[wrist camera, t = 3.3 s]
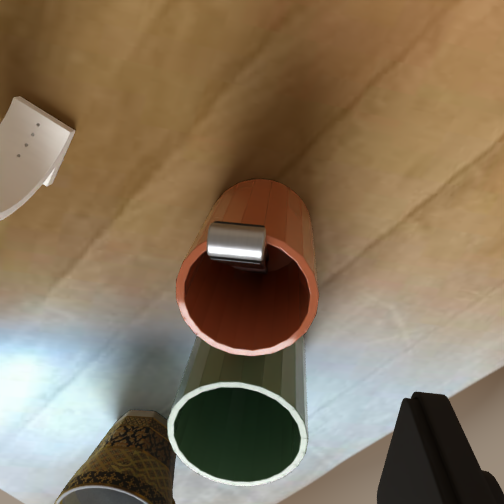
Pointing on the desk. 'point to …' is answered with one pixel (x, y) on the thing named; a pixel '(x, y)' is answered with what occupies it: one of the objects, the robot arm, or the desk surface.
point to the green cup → (241, 414)
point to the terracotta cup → (253, 275)
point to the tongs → (238, 245)
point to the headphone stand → (29, 152)
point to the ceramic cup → (127, 465)
